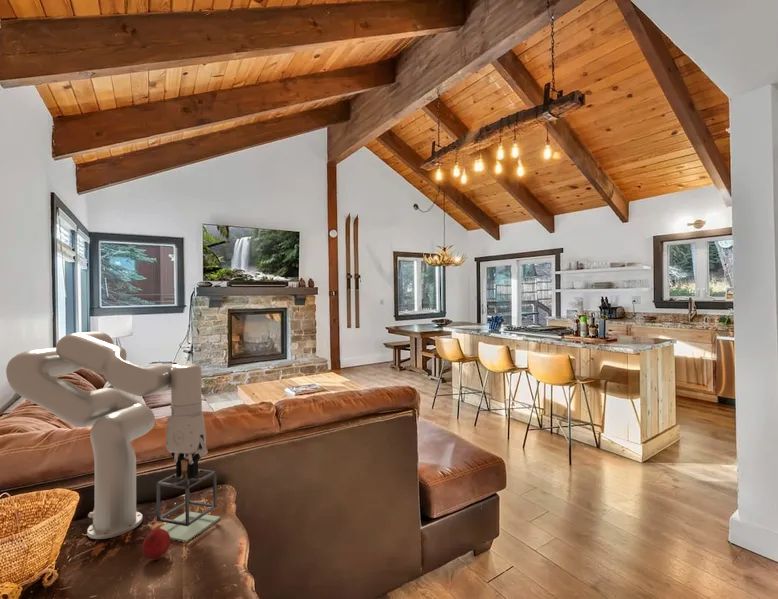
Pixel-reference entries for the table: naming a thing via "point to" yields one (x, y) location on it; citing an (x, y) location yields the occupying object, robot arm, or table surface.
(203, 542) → the table surface
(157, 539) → the onion
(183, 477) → the dark grey metal frame
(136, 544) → the table surface
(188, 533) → the mat
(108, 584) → the table surface
